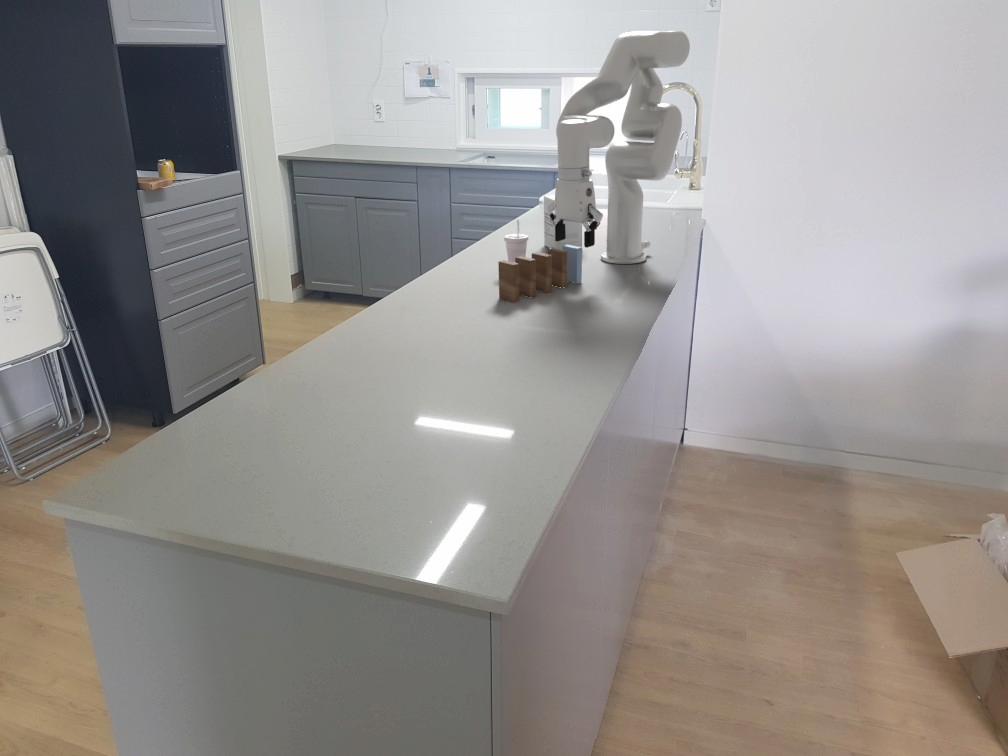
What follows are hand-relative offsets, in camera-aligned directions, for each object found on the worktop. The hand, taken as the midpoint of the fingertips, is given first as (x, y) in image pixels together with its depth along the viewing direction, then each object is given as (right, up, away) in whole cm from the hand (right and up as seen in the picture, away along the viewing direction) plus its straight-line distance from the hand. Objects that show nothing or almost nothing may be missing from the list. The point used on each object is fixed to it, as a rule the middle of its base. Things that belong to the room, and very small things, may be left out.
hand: (574, 243), depth 196 cm
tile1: (0, -9, +3) cm, 10 cm away
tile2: (-4, -11, -1) cm, 12 cm away
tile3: (-8, -12, -4) cm, 15 cm away
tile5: (-16, -15, -11) cm, 25 cm away
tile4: (-12, -14, -8) cm, 20 cm away
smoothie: (-14, -6, +12) cm, 20 cm away
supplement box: (0, +5, +39) cm, 39 cm away
